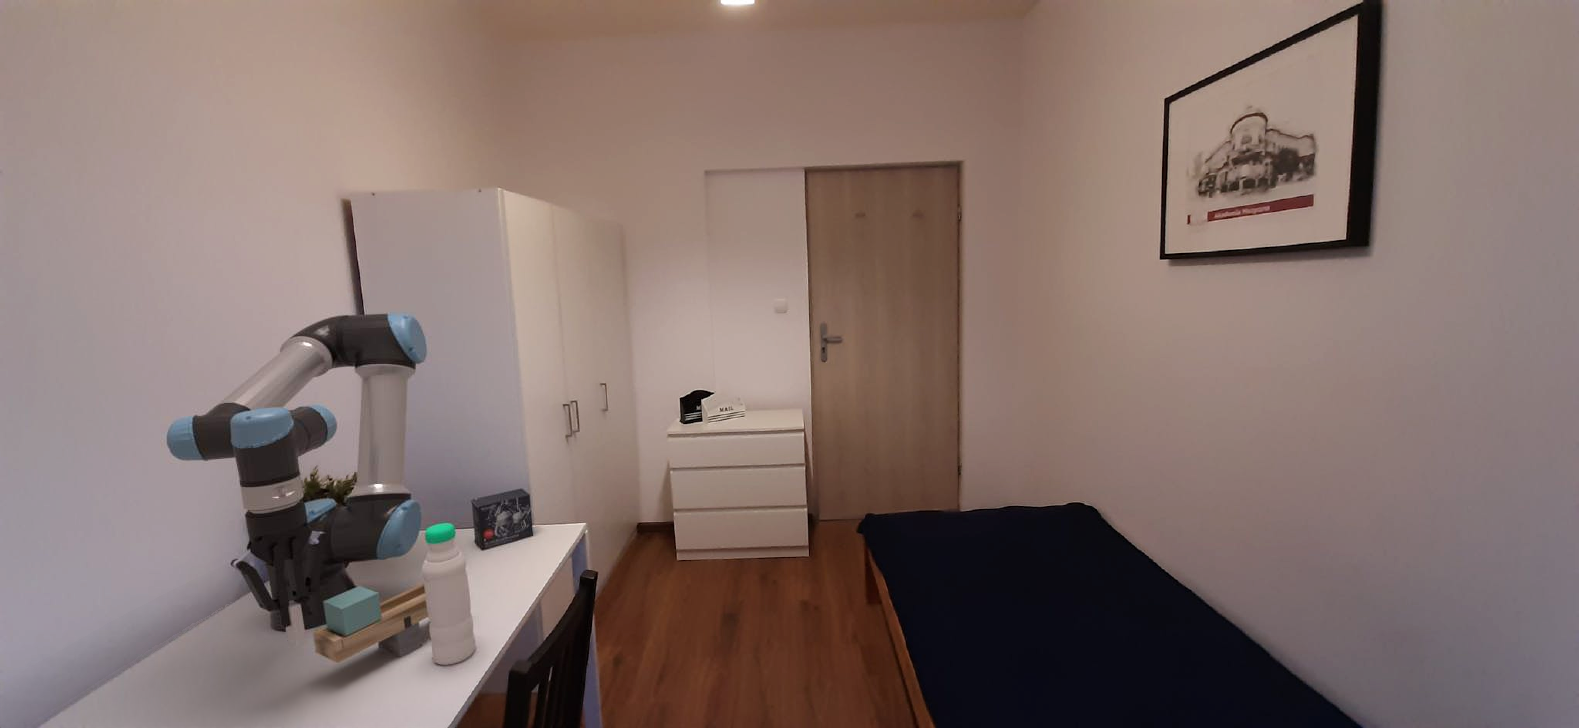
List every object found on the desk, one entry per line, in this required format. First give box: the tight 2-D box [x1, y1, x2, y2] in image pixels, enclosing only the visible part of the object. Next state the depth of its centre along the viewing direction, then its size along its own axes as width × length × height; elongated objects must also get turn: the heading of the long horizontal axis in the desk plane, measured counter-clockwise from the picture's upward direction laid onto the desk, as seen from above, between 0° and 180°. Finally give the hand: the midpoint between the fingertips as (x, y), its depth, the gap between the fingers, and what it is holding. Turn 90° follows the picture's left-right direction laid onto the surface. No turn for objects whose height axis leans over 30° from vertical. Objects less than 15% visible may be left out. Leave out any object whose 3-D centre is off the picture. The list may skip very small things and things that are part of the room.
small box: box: [471, 488, 534, 551], centre depth 167 cm, size 13×7×12 cm, turn 130°
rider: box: [323, 585, 382, 637], centre depth 113 cm, size 6×6×6 cm
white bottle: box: [421, 522, 476, 666], centre depth 115 cm, size 7×7×25 cm
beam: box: [312, 582, 429, 664], centre depth 119 cm, size 7×24×12 cm, turn 152°
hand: (297, 640), depth 105 cm, fingers closed
